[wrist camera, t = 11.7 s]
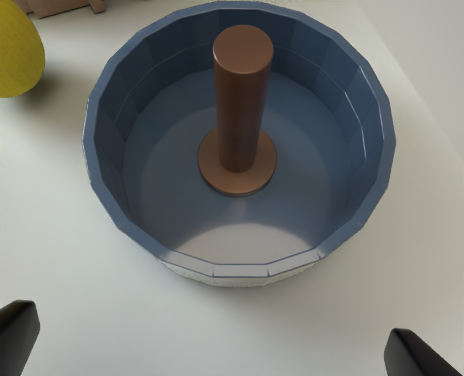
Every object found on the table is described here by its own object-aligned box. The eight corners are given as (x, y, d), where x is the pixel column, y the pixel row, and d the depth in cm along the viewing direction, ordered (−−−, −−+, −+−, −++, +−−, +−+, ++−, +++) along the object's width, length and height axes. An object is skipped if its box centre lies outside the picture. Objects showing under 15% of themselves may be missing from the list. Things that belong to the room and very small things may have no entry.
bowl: (398, 240, 22) (452, 215, 16) (148, 325, 20) (120, 328, 15) (303, 42, 26) (321, -25, 21) (94, 97, 25) (59, 38, 19)
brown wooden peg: (286, 184, 22) (331, 84, 13) (211, 207, 21) (197, 122, 12) (260, 117, 24) (281, -15, 14) (188, 138, 23) (161, 14, 14)
